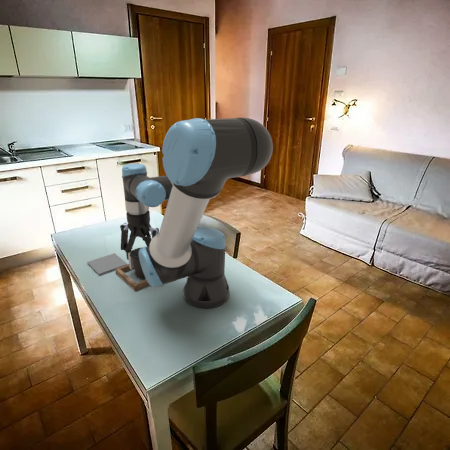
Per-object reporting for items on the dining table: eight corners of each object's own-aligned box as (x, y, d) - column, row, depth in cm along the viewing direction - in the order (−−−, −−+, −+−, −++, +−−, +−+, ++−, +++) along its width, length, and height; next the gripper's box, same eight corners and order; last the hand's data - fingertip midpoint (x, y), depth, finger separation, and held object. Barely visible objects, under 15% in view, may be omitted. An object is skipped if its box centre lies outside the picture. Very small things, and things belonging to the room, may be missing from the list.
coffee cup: (139, 267, 121) (137, 243, 117) (159, 271, 118) (157, 247, 114) (127, 278, 114) (124, 253, 110) (147, 282, 111) (145, 257, 107)
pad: (127, 265, 121) (127, 263, 121) (99, 275, 115) (98, 273, 114) (114, 254, 129) (114, 253, 129) (87, 263, 122) (87, 262, 122)
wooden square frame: (171, 276, 116) (170, 270, 115) (135, 291, 107) (134, 284, 106) (150, 260, 125) (150, 254, 124) (116, 273, 116) (115, 267, 115)
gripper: (171, 211, 107) (173, 269, 116) (117, 203, 112) (124, 259, 121) (160, 219, 100) (164, 280, 109) (104, 210, 106) (112, 269, 115)
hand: (143, 269), depth 115 cm, fingers closed on coffee cup, 8 cm apart
